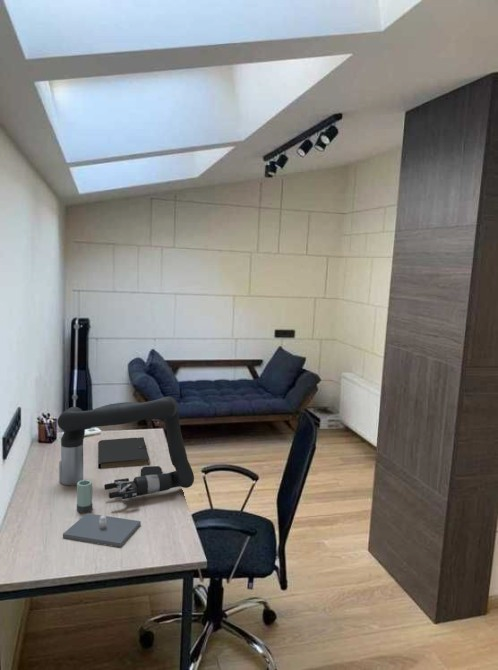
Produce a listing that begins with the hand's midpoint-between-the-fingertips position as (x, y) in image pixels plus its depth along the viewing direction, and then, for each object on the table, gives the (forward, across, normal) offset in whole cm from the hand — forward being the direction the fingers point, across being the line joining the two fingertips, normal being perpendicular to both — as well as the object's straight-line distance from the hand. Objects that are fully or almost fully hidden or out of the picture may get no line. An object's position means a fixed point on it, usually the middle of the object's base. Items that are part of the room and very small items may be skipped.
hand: (106, 491), depth 200 cm
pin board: (+6, +20, +6) cm, 21 cm away
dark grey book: (-19, -53, +7) cm, 57 cm away
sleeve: (+9, 0, +6) cm, 10 cm away
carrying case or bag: (-24, -21, +6) cm, 33 cm away
